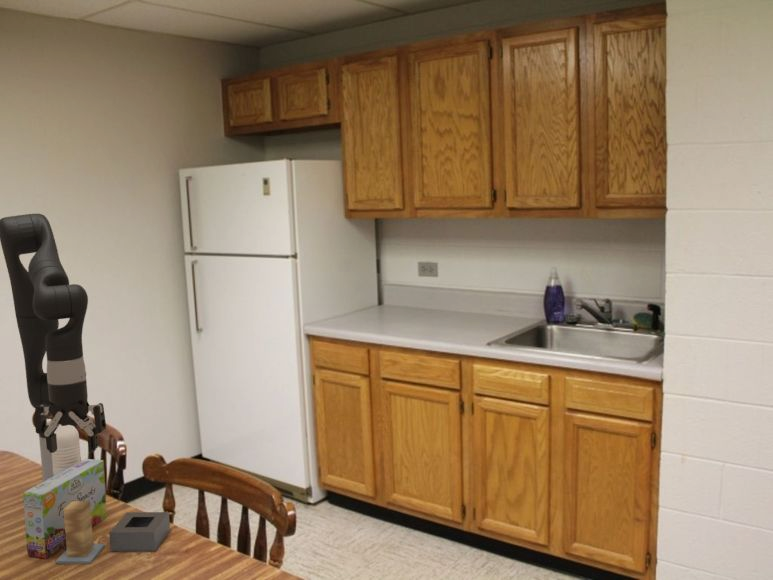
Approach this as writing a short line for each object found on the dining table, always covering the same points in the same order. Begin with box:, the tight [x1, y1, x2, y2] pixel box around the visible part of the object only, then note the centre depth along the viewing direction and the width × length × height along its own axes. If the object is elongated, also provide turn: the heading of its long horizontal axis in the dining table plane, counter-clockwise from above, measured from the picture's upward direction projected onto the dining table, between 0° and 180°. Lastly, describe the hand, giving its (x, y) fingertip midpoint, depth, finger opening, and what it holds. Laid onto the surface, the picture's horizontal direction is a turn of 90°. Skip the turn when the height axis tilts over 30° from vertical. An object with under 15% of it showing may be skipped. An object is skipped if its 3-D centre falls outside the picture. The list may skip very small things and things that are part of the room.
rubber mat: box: [55, 543, 106, 565], centre depth 157 cm, size 8×8×1 cm
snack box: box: [22, 458, 108, 559], centre depth 165 cm, size 21×6×15 cm, turn 166°
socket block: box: [109, 511, 171, 553], centre depth 163 cm, size 10×10×4 cm
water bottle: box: [47, 418, 82, 476], centre depth 176 cm, size 9×6×25 cm
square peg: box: [63, 501, 94, 557], centre depth 156 cm, size 4×4×11 cm
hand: (73, 451), depth 154 cm, fingers open, 8 cm apart
